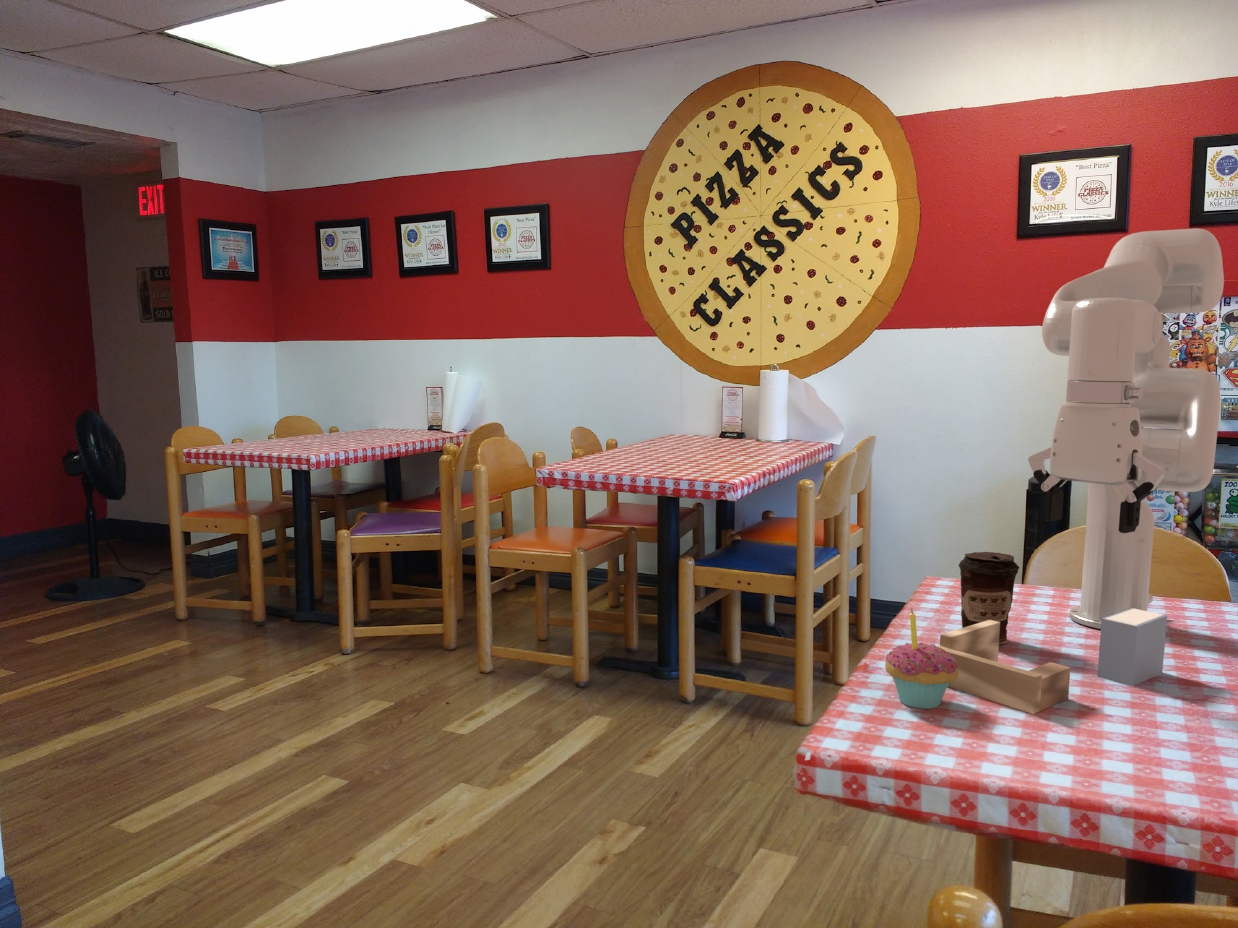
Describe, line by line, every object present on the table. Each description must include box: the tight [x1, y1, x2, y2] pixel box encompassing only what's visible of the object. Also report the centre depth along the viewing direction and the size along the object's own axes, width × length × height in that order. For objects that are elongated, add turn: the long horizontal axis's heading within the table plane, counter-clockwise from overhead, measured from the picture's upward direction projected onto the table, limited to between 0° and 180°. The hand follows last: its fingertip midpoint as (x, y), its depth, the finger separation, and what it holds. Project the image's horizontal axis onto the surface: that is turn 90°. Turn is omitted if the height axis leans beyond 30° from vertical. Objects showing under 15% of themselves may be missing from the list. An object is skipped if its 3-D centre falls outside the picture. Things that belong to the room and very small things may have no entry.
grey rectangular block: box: [1096, 608, 1168, 687], centre depth 123 cm, size 9×4×8 cm, turn 128°
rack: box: [937, 620, 1071, 715], centre depth 118 cm, size 14×14×6 cm
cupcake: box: [884, 607, 958, 710], centre depth 112 cm, size 9×8×12 cm
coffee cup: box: [958, 551, 1020, 645], centre depth 137 cm, size 9×8×13 cm
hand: (1089, 525), depth 121 cm, fingers open, 9 cm apart
